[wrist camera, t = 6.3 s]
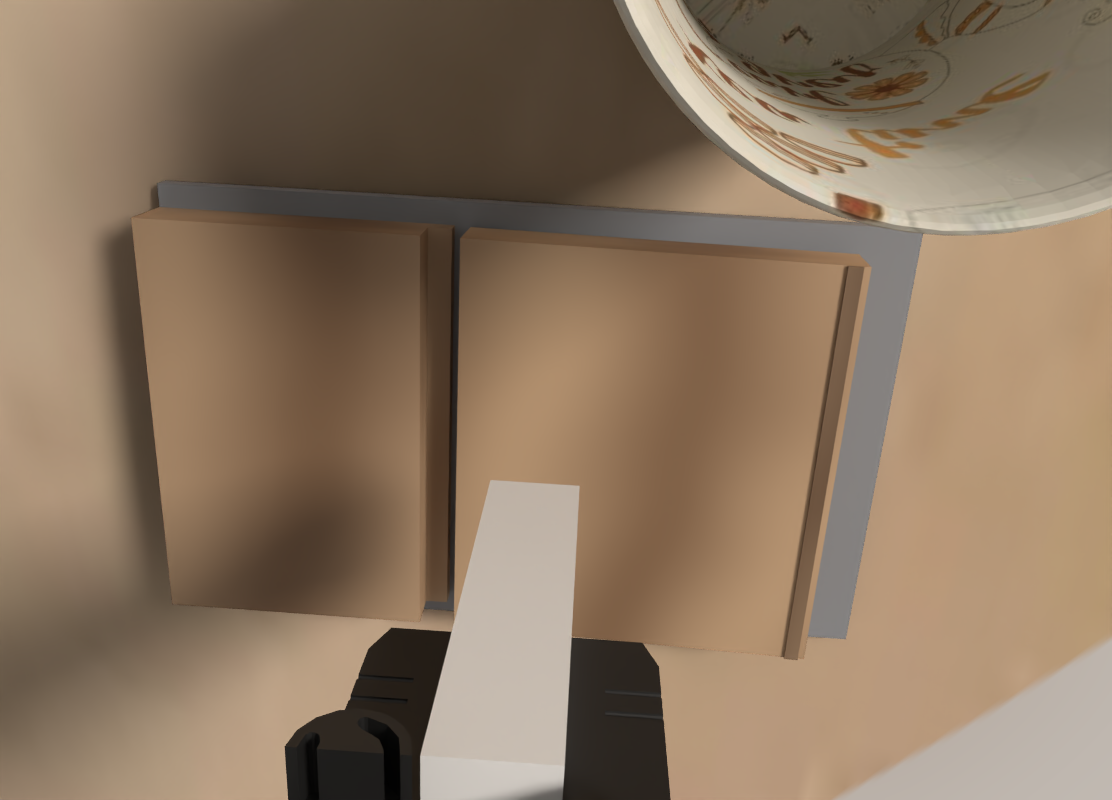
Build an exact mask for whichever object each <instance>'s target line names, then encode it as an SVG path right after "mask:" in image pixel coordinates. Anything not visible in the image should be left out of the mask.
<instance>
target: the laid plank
mask: <svg viewBox="0 0 1112 800" xmlns="http://www.w3.org/2000/svg"><path fill="white" fill-rule="evenodd" d="M131 223H132V232H133V242H134V251H135V260H136V270H137V279H138V288H139V298H140V307H141V316H142V326H143V335H144V344H145V354H146V363H147V373H148V382H149V391H150V401H151V410H152V419H153V429H154V438H155V447H156V457H157V466H158V475H159V485H160V494H161V503H162V513H163V522H164V531H165V541H166V550H167V560H168V569H169V578H170V588H171V597H172V604H177V605H191V606H204V607H218V608H232V609H246V610H260V611H273V612H287V613H301V614H315V615H329V616H342V617H356V618H370V619H384V620H398V621H411V622H420V619H421V616H422V613H423V609H424V606H425V603H426V601H438V602H447V600H448V597H449V593H450V524H451V454H452V384H453V314H454V245H455V225H444V224H428V223H412V222H395V221H379V220H363V219H346V218H330V217H314V216H298V215H281V214H265V213H249V212H232V211H216V210H200V209H184V208H167V207H158V208H156V209H153V210H150V211H148V212H145V213H142V214H140V215H137V216H134V217H132V218H131Z"/></svg>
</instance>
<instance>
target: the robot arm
mask: <svg viewBox="0 0 1112 800" xmlns="http://www.w3.org/2000/svg"><path fill="white" fill-rule="evenodd" d="M579 488H580V486H575V485H560V484H544V483H529V482H514V481H498V480H490V484H489V488H488V492H487V496H486V500H485V504H484V507H483V511H482V515H481V519H480V523H479V527H478V531H477V535H476V539H475V543H474V547H473V551H472V555H471V558H470V562H469V566H468V570H467V574H466V578H465V582H464V586H463V590H462V594H461V598H460V602H459V605H458V609H457V613H456V617H455V621H454V625H453V629H452V632H445V631H431V630H416V629H402V628H391V629H390V630H389V631H388V632H386V633H385V634H384V635H383V636H382V637H381V638H380V639H379V640H378V641H377V642H375V643H374V644H373V645H372V646H371V647H370V648H369V649H368V652H367V654H366V657H365V659H364V662H363V665H362V667H361V670H360V672H359V678H358V679H357V680H356V683H355V685H354V688H353V691H352V693H351V699H350V700H349V701H348V704H347V706H346V709H345V710H339V711H335V712H332V713H329V714H326V715H323V716H320V717H317V718H315V719H313V720H312V721H310V722H309V723H307V724H306V725H304V726H303V727H301V728H300V729H298V730H297V731H296V732H295V734H294V735H293V736H292V738H291V739H290V740H289V742H288V743H287V744H286V746H285V757H286V773H287V788H288V800H670V789H669V778H668V766H667V755H666V743H665V732H664V720H663V709H662V698H661V686H660V675H659V666H658V665H657V663H656V662H655V660H654V659H653V658H652V656H651V655H650V653H649V652H648V651H647V649H646V648H645V646H644V645H643V643H640V642H626V641H611V640H597V639H582V638H572V619H573V601H574V582H575V563H576V544H577V525H578V507H579Z"/></svg>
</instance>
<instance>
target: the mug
mask: <svg viewBox="0 0 1112 800" xmlns="http://www.w3.org/2000/svg"><path fill="white" fill-rule="evenodd" d="M613 1H614V3H615V6H616V8H617V10H618V12H619V14H620V16H621V19H622V21H623V23H624V25H625V27H626V30H627V31H628V33H629V35H630V37H631V39H632V40H633V42H634V44H635V46H636V47H637V49H638V51H639V53H640V55H641V56H642V58H643V59H644V61H645V62H646V64H647V66H648V67H649V69H650V70H651V72H652V73H653V75H654V76H655V78H656V79H657V81H658V82H659V83H660V85H661V86H662V87H663V89H664V90H665V91H666V92H667V94H668V95H669V96H670V97H671V99H672V100H673V101H674V102H675V104H676V105H677V106H678V107H679V109H680V110H681V111H682V112H683V113H684V114H685V115H686V116H687V117H688V118H689V119H690V120H691V121H692V123H693V124H694V125H695V126H696V127H697V128H698V129H699V130H700V131H701V132H702V133H703V134H704V135H705V136H706V137H707V138H708V139H709V140H710V141H712V142H713V143H714V144H715V145H716V146H718V147H719V148H720V149H721V150H722V151H724V152H725V153H726V154H727V155H728V156H730V157H731V158H732V159H733V160H735V161H736V162H737V163H738V164H739V165H741V166H742V167H744V168H745V169H747V170H748V171H750V172H751V173H753V174H754V175H756V176H757V177H759V178H760V179H762V180H763V181H765V182H766V183H768V184H769V185H771V186H773V187H775V188H776V189H778V190H780V191H782V192H784V193H786V194H788V195H790V196H792V197H794V198H796V199H798V200H799V201H801V202H803V203H806V204H808V205H811V206H813V207H816V208H818V209H821V210H823V211H826V212H828V213H831V214H833V215H836V216H839V217H842V218H846V219H849V220H853V221H856V222H860V223H864V224H867V225H871V226H875V227H880V228H886V229H892V230H898V231H903V232H909V233H922V234H935V235H986V234H999V233H1010V232H1016V231H1023V230H1029V229H1035V228H1042V227H1048V226H1052V225H1056V224H1060V223H1064V222H1068V221H1072V220H1076V219H1080V218H1084V217H1087V216H1090V215H1093V214H1096V213H1099V212H1102V211H1105V210H1108V209H1110V208H1112V0H613Z"/></svg>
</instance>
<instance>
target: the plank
mask: <svg viewBox="0 0 1112 800" xmlns="http://www.w3.org/2000/svg"><path fill="white" fill-rule="evenodd" d="M871 269H872V267H871V266H870V265H869V264H868V263H867V262H866V261H865V260H864V259H863V258H862V257H861V256H860V255H859V254H849V253H835V252H820V251H806V250H792V249H777V248H763V247H749V246H735V245H720V244H706V243H692V242H677V241H663V240H649V239H634V238H620V237H606V236H591V235H577V234H563V233H549V232H534V231H520V230H506V229H491V228H477V227H470V228H469V229H468V231H467V232H466V233H465V234H464V235H463V236H462V237H461V238H460V281H459V342H458V402H457V463H456V524H455V585H454V621H455V617H456V613H457V609H458V605H459V602H460V598H461V594H462V590H463V586H464V582H465V578H466V574H467V570H468V566H469V562H470V558H471V555H472V551H473V547H474V543H475V539H476V535H477V531H478V527H479V523H480V519H481V515H482V511H483V507H484V504H485V500H486V496H487V492H488V488H489V484H490V480H498V481H514V482H529V483H544V484H560V485H575V486H580V488H579V507H578V525H577V544H576V563H575V582H574V601H573V619H572V636H575V637H586V638H596V639H606V640H616V641H626V642H640V643H647V644H657V645H667V646H677V647H687V648H698V649H708V650H718V651H728V652H738V653H749V654H759V655H769V656H779V657H784V659H791V660H798V658H800V659H804V655H805V649H806V643H807V637H808V632H809V626H810V620H811V614H812V609H813V603H814V597H815V591H816V585H817V580H818V574H819V568H820V562H821V557H822V551H823V545H824V539H825V534H826V528H827V522H828V516H829V511H830V505H831V499H832V493H833V488H834V482H835V476H836V470H837V464H838V459H839V453H840V447H841V441H842V436H843V430H844V424H845V418H846V413H847V407H848V401H849V395H850V390H851V384H852V378H853V372H854V367H855V361H856V355H857V349H858V343H859V338H860V332H861V326H862V320H863V315H864V309H865V303H866V297H867V292H868V286H869V280H870V274H871Z"/></svg>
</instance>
